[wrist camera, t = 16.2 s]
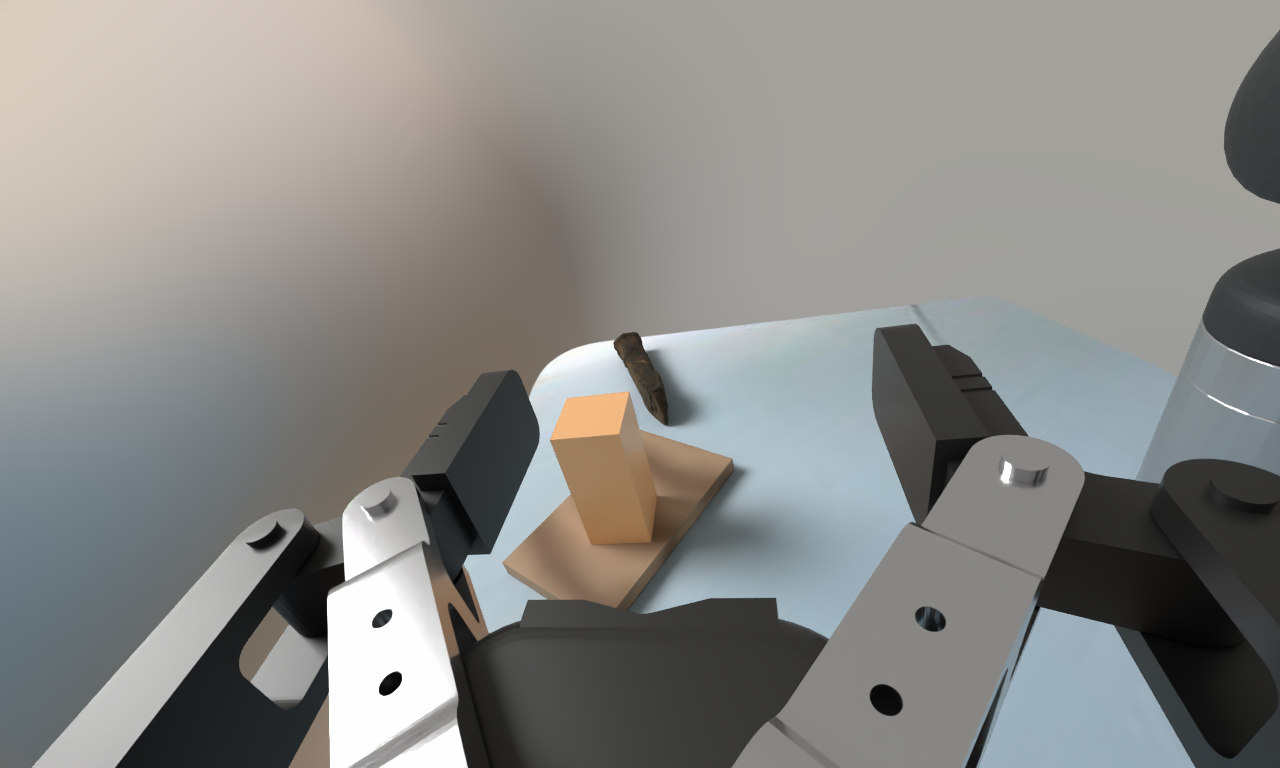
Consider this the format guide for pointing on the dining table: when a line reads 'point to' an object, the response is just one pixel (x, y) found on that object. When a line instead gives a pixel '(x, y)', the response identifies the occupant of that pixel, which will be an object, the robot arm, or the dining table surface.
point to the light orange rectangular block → (606, 468)
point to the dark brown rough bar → (643, 374)
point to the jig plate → (620, 572)
